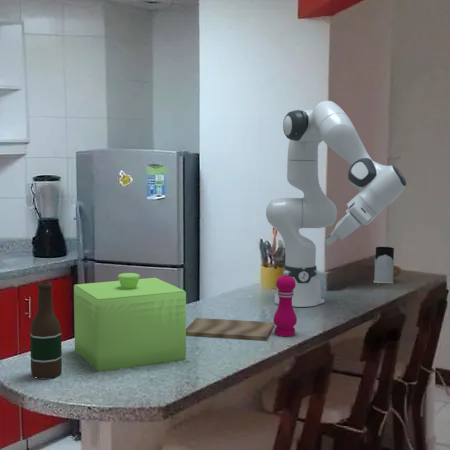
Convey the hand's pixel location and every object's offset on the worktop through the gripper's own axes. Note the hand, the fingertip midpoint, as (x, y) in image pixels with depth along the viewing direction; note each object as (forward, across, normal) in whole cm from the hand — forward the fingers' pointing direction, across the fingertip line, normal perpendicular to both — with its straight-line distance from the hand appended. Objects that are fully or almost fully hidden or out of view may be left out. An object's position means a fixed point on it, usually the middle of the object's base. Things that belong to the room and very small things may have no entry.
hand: (327, 242), depth 227 cm
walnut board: (+42, 0, 0) cm, 42 cm away
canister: (+58, +32, -16) cm, 68 cm away
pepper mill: (+30, 0, +12) cm, 32 cm away
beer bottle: (+69, +54, -27) cm, 91 cm away
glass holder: (+8, -94, +34) cm, 101 cm away
